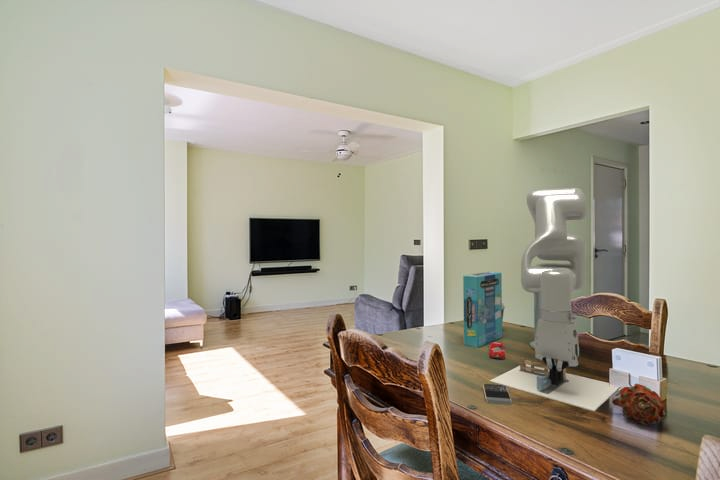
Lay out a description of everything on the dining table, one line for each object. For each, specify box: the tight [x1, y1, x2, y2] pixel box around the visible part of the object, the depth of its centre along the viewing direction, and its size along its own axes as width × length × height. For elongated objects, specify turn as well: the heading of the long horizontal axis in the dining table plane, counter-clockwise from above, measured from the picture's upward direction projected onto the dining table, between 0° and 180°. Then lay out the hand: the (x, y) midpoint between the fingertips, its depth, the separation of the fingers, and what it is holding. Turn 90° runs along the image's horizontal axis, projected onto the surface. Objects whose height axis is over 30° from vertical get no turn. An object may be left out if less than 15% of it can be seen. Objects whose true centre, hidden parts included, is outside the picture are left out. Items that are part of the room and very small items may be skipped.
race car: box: [488, 341, 506, 360], centre depth 138 cm, size 13×5×4 cm, turn 160°
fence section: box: [519, 357, 557, 376], centre depth 116 cm, size 11×1×4 cm, turn 42°
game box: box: [462, 271, 503, 349], centre depth 155 cm, size 20×6×27 cm, turn 135°
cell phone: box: [482, 383, 513, 406], centre depth 102 cm, size 6×11×1 cm, turn 167°
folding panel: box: [537, 367, 567, 390], centre depth 108 cm, size 14×1×3 cm, turn 126°
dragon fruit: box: [611, 383, 667, 426], centre depth 88 cm, size 8×8×12 cm
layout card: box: [489, 364, 618, 413], centre depth 109 cm, size 22×27×1 cm
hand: (556, 383), depth 105 cm, fingers closed
